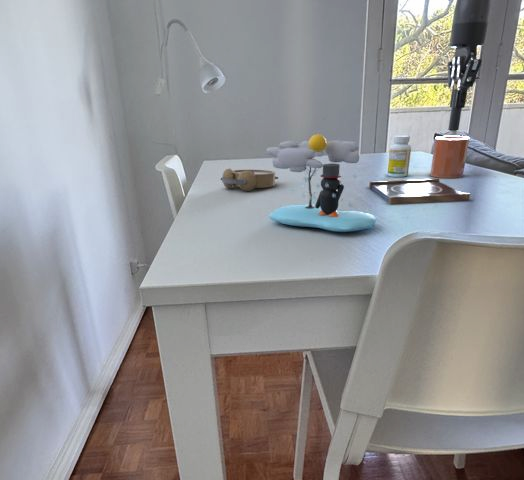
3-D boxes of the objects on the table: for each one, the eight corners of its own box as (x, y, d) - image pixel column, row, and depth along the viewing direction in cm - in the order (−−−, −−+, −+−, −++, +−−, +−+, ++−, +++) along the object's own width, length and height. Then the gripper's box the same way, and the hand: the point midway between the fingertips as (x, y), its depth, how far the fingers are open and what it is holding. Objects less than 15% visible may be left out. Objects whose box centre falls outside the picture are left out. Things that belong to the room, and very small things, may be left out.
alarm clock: (285, 172, 118) (244, 169, 107) (283, 192, 120) (243, 192, 109) (252, 168, 124) (210, 165, 114) (250, 188, 126) (209, 187, 115)
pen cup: (455, 172, 126) (461, 135, 122) (468, 177, 119) (474, 138, 115) (425, 173, 126) (430, 136, 122) (437, 178, 119) (442, 140, 115)
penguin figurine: (384, 226, 83) (393, 131, 75) (354, 241, 76) (360, 138, 68) (293, 212, 94) (292, 128, 87) (259, 224, 87) (255, 134, 80)
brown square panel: (437, 184, 113) (438, 178, 112) (469, 200, 98) (470, 193, 97) (369, 187, 112) (369, 181, 112) (390, 204, 97) (390, 197, 96)
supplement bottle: (398, 178, 122) (402, 137, 117) (382, 175, 126) (386, 136, 121) (412, 175, 124) (417, 135, 119) (397, 172, 128) (401, 134, 123)
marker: (455, 133, 119) (462, 83, 113) (459, 134, 117) (467, 83, 111) (445, 134, 119) (452, 84, 113) (449, 135, 117) (457, 84, 111)
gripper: (501, 17, 100) (485, 108, 109) (472, 24, 112) (459, 105, 121) (467, 18, 100) (453, 109, 109) (441, 25, 112) (431, 107, 121)
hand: (456, 107), depth 115 cm, fingers closed on marker, 2 cm apart
